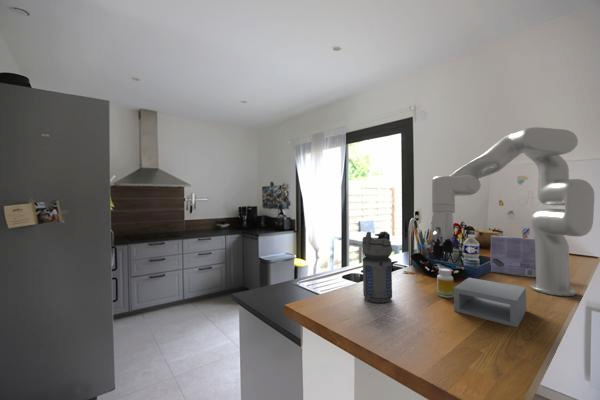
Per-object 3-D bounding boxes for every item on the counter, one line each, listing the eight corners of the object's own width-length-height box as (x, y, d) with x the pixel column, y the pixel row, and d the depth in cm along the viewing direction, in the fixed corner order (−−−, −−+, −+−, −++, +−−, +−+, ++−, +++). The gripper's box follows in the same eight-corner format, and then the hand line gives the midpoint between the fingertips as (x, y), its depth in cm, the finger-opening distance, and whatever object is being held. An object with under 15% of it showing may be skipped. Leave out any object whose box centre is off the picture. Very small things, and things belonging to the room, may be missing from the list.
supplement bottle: (456, 298, 97) (455, 271, 97) (440, 297, 98) (439, 271, 98) (450, 293, 102) (450, 268, 102) (435, 292, 103) (435, 267, 103)
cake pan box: (542, 276, 121) (541, 237, 122) (543, 279, 118) (542, 239, 118) (491, 270, 134) (490, 235, 134) (490, 272, 130) (489, 236, 130)
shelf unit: (469, 298, 97) (468, 277, 97) (526, 310, 85) (525, 287, 85) (454, 310, 86) (453, 287, 86) (517, 327, 74) (516, 300, 75)
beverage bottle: (401, 297, 99) (399, 230, 99) (380, 307, 90) (379, 233, 90) (377, 291, 107) (376, 228, 107) (356, 299, 98) (355, 231, 98)
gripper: (441, 208, 109) (441, 250, 109) (423, 209, 97) (423, 256, 97) (461, 208, 103) (462, 252, 103) (445, 209, 92) (445, 259, 92)
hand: (443, 254), depth 100 cm, fingers open, 9 cm apart
